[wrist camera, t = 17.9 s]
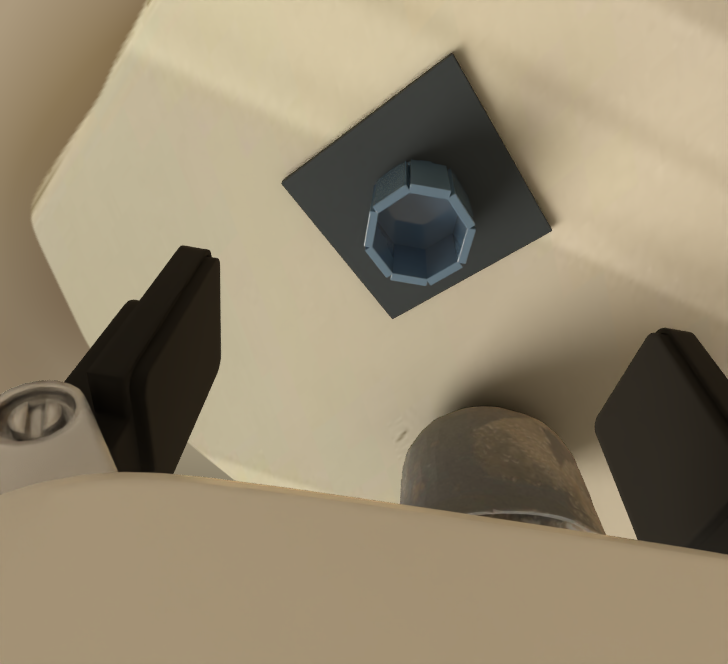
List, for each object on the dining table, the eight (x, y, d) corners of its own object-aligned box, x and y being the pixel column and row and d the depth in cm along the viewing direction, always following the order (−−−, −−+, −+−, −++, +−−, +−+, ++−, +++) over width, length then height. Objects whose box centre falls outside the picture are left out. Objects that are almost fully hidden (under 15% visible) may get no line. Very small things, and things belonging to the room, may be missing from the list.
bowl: (362, 464, 54) (348, 608, 42) (427, 339, 44) (434, 482, 32) (514, 507, 57) (543, 655, 45) (609, 397, 47) (680, 551, 35)
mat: (282, 180, 37) (280, 183, 37) (451, 52, 32) (452, 53, 31) (392, 315, 43) (392, 319, 43) (550, 227, 38) (552, 231, 37)
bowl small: (351, 196, 37) (344, 225, 33) (433, 139, 34) (436, 163, 30) (404, 266, 40) (404, 301, 36) (483, 219, 37) (492, 251, 33)
